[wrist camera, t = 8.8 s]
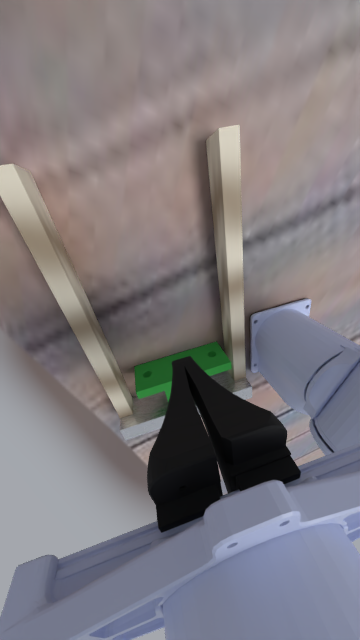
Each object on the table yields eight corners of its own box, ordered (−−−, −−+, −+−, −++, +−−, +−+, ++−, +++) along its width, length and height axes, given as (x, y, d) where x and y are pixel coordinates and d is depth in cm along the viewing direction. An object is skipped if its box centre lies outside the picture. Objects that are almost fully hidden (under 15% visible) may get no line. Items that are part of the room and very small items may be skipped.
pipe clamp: (142, 385, 26) (144, 413, 22) (134, 365, 24) (135, 392, 20) (219, 361, 27) (233, 385, 23) (216, 340, 25) (231, 362, 21)
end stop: (236, 375, 28) (252, 397, 25) (125, 411, 27) (125, 440, 23) (236, 364, 27) (252, 386, 24) (120, 401, 26) (120, 430, 22)
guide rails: (236, 364, 27) (245, 377, 25) (120, 401, 26) (120, 418, 24) (223, 137, 16) (239, 124, 13) (7, 175, 14) (-15, 168, 12)
